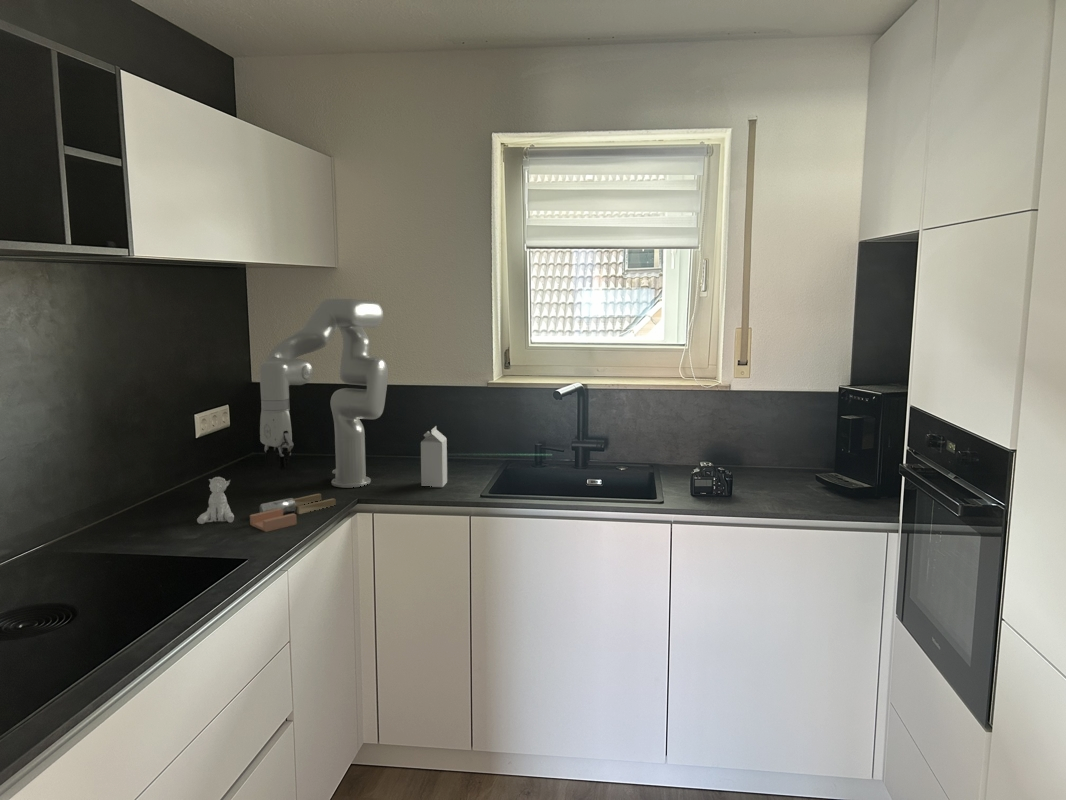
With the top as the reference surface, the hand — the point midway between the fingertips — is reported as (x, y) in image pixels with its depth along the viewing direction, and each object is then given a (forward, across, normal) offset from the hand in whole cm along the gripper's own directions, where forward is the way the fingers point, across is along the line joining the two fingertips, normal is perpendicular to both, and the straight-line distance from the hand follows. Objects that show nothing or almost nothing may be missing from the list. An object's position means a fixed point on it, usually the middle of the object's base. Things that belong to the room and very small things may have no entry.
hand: (278, 467), depth 218 cm
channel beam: (+14, 0, +10) cm, 17 cm away
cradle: (+14, +8, -6) cm, 17 cm away
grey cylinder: (+12, 0, -1) cm, 12 cm away
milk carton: (+14, +7, +52) cm, 54 cm away
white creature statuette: (+14, -8, -14) cm, 22 cm away
